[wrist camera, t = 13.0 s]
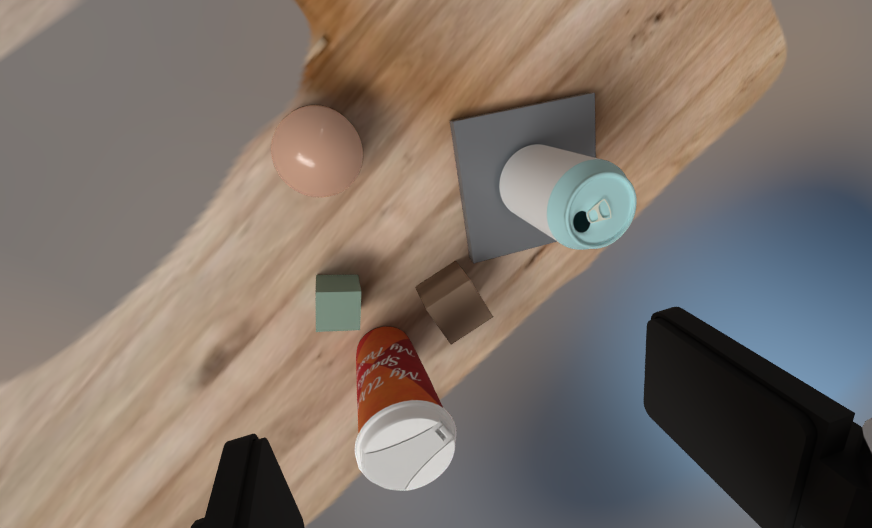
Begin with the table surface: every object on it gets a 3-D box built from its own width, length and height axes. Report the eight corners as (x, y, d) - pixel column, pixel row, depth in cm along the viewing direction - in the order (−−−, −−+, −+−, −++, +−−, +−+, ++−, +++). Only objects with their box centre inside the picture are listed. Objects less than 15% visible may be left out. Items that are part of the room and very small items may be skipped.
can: (542, 224, 44) (614, 268, 34) (484, 201, 42) (542, 239, 31) (575, 160, 43) (661, 184, 32) (517, 131, 40) (589, 147, 29)
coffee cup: (394, 302, 45) (426, 393, 31) (435, 353, 48) (479, 455, 35) (328, 347, 45) (331, 458, 31) (373, 395, 49) (394, 513, 35)
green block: (316, 274, 42) (315, 292, 38) (358, 274, 43) (361, 291, 39) (316, 311, 43) (315, 331, 40) (356, 310, 44) (360, 329, 41)
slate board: (449, 120, 39) (453, 121, 38) (587, 92, 42) (594, 92, 41) (469, 259, 45) (473, 263, 44) (590, 227, 47) (596, 231, 46)
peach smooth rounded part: (264, 113, 36) (258, 116, 32) (347, 97, 37) (351, 98, 33) (290, 194, 39) (287, 205, 35) (367, 177, 40) (371, 186, 36)
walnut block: (415, 286, 45) (425, 308, 40) (455, 260, 45) (470, 279, 40) (438, 320, 47) (450, 344, 43) (476, 295, 47) (493, 316, 43)
